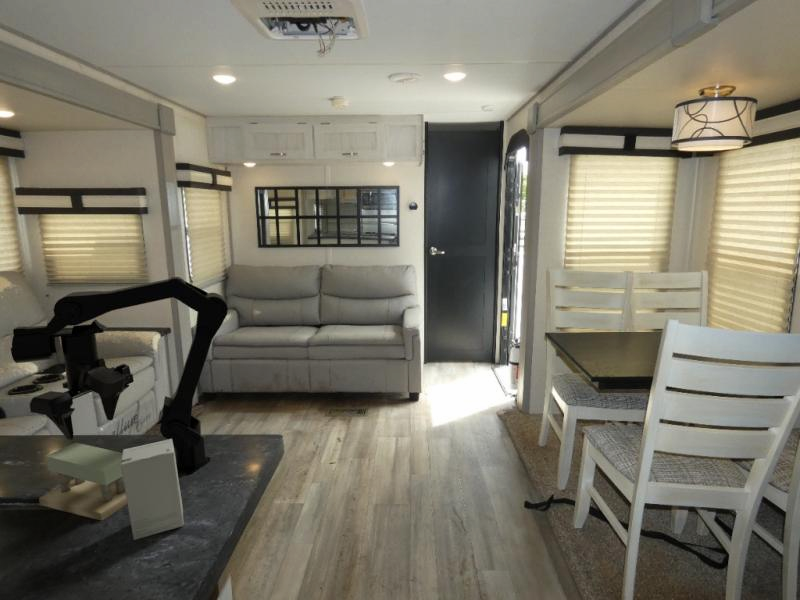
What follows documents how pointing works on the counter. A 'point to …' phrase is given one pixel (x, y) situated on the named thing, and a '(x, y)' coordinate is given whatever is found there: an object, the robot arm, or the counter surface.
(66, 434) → the robot arm
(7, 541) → the counter surface
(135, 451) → the skincare box
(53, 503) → the peg stand
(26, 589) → the counter surface
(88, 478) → the plank
